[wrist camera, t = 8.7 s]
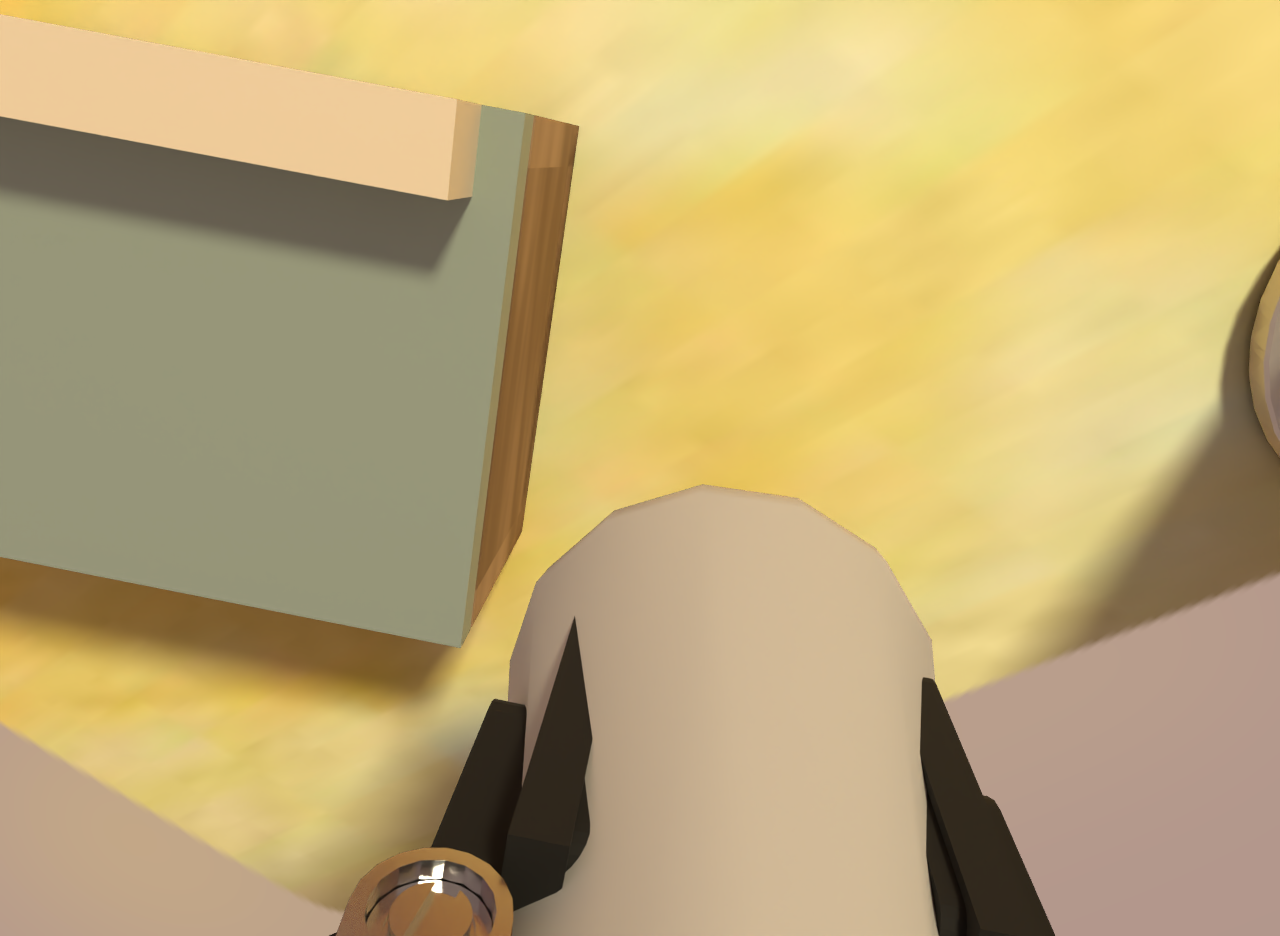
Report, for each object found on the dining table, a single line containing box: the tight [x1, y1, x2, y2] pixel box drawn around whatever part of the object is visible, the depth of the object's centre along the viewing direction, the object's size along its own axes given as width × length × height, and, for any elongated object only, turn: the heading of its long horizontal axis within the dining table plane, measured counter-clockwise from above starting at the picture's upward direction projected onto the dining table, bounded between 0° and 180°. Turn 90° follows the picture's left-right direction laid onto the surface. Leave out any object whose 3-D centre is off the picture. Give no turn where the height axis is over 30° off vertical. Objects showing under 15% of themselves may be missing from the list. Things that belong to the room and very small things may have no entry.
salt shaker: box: [508, 484, 939, 936], centre depth 8 cm, size 6×6×13 cm
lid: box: [0, 14, 534, 648], centre depth 22 cm, size 20×14×3 cm
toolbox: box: [471, 115, 579, 627], centre depth 27 cm, size 20×14×7 cm
